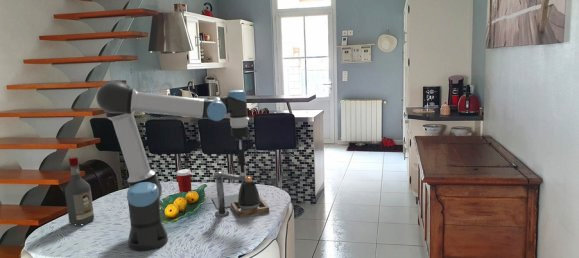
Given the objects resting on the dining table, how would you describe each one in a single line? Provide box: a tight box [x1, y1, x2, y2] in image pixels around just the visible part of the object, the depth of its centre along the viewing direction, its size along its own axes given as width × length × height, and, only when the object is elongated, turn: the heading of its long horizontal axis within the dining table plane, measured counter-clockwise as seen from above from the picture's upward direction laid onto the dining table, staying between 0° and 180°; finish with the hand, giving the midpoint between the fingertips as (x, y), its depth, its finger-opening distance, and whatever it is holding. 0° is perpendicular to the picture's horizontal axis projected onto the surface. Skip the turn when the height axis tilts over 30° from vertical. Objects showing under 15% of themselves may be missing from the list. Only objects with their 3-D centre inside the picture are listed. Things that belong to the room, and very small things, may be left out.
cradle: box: [230, 196, 270, 219], centre depth 215 cm, size 15×15×2 cm
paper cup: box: [175, 168, 192, 194], centre depth 236 cm, size 8×8×14 cm
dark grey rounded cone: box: [238, 179, 260, 211], centre depth 214 cm, size 10×10×15 cm
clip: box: [213, 170, 253, 182], centre depth 203 cm, size 21×4×2 cm, turn 55°
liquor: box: [64, 156, 95, 226], centre depth 208 cm, size 9×9×30 cm
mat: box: [211, 193, 239, 211], centre depth 227 cm, size 16×16×1 cm
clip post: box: [214, 177, 230, 218], centre depth 209 cm, size 6×6×18 cm
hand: (243, 178), depth 203 cm, fingers closed
